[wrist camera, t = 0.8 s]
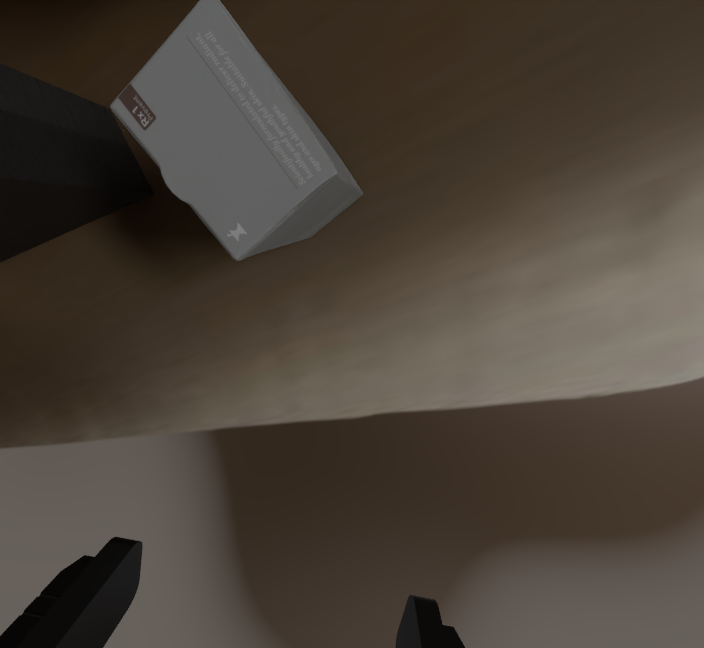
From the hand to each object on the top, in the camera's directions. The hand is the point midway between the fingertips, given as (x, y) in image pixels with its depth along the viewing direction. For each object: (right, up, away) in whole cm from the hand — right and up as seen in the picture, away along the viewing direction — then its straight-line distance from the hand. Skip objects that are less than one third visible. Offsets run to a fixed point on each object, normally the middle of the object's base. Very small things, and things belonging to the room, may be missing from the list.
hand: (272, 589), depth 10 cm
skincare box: (-2, +20, +19) cm, 28 cm away
